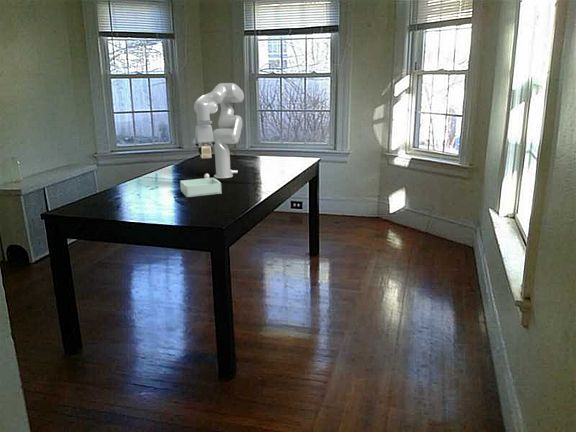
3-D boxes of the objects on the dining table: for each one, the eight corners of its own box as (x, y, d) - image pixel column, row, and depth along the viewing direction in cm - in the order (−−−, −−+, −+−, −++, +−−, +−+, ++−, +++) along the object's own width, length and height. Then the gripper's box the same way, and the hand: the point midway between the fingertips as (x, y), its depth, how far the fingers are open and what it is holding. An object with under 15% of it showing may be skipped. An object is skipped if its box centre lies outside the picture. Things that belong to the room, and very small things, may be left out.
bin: (214, 187, 311) (213, 177, 310) (221, 193, 295) (221, 183, 294) (180, 190, 304) (179, 180, 303) (186, 197, 288) (185, 186, 287)
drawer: (200, 157, 316) (199, 143, 314) (209, 156, 318) (208, 142, 316) (202, 158, 311) (201, 144, 309) (211, 157, 313) (210, 143, 311)
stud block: (216, 182, 327) (215, 171, 325) (220, 185, 316) (220, 174, 314) (194, 184, 322) (193, 172, 320) (198, 187, 311) (197, 176, 309)
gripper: (216, 122, 315) (217, 151, 320) (188, 123, 309) (190, 153, 314) (219, 123, 308) (221, 153, 313) (190, 124, 302) (192, 155, 307)
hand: (205, 153), depth 314 cm, fingers closed on drawer, 5 cm apart
